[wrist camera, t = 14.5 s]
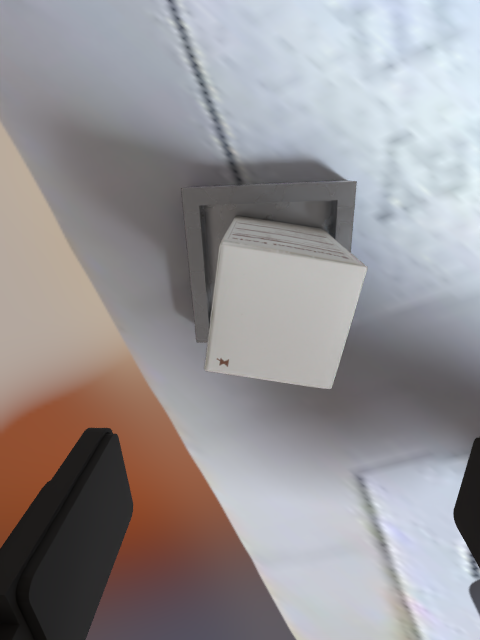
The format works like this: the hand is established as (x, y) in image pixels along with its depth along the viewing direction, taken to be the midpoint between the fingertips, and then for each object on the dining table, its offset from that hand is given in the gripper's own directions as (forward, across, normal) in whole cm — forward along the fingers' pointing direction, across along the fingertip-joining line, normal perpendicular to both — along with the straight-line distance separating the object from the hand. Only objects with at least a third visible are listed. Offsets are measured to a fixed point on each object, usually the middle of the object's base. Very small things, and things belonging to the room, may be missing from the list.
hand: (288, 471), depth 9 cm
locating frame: (+22, 0, 0) cm, 22 cm away
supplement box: (+22, 0, 0) cm, 22 cm away
